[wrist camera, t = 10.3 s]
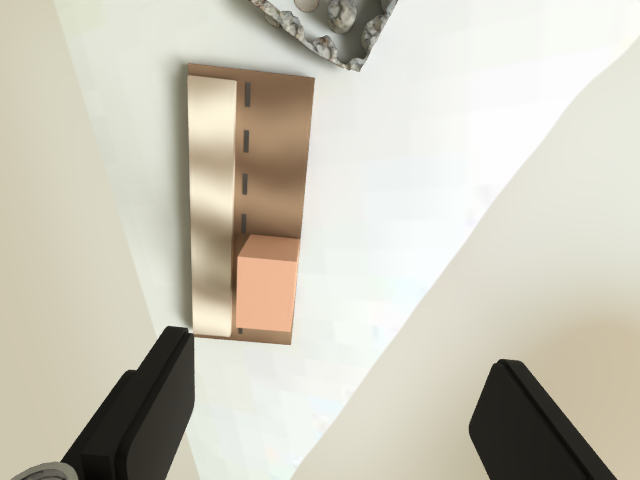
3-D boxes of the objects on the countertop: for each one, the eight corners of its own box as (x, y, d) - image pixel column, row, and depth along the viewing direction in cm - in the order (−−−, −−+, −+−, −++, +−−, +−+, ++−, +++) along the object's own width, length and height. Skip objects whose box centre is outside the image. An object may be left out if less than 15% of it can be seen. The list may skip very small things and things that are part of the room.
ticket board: (193, 65, 31) (184, 61, 29) (314, 79, 31) (314, 76, 29) (198, 329, 40) (191, 341, 38) (291, 337, 40) (290, 349, 38)
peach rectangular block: (250, 234, 34) (237, 256, 29) (300, 238, 35) (296, 262, 29) (248, 295, 37) (235, 327, 31) (294, 299, 37) (290, 332, 31)
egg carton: (250, 13, 30) (239, -3, 26) (293, -78, 28) (289, -111, 24) (351, 83, 32) (356, 78, 28) (399, 3, 30) (411, -15, 26)
